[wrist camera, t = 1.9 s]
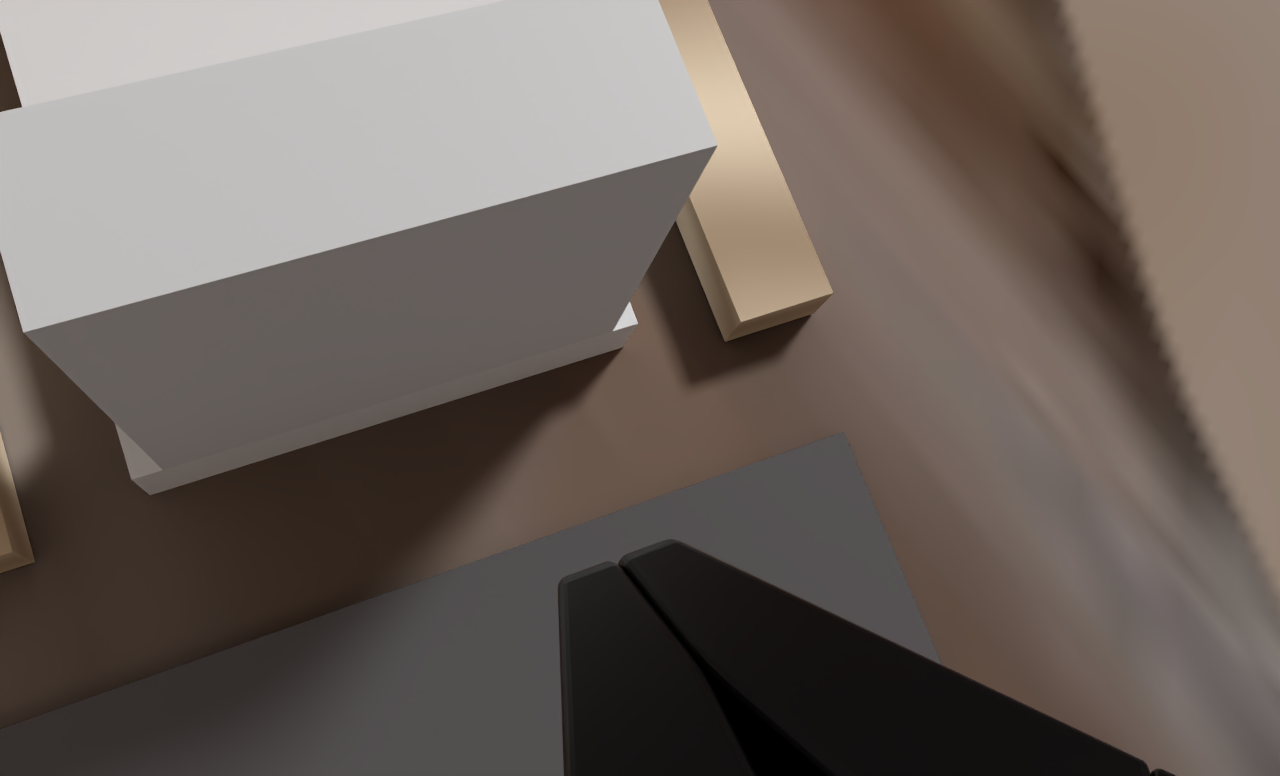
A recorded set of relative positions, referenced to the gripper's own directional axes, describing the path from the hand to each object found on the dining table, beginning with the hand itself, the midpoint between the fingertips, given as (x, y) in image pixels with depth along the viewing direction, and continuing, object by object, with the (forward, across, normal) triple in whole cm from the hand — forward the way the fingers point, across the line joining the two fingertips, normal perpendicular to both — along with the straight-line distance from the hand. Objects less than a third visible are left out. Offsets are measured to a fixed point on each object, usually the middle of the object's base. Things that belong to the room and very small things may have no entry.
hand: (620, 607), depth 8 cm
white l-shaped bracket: (+19, 0, 0) cm, 19 cm away
